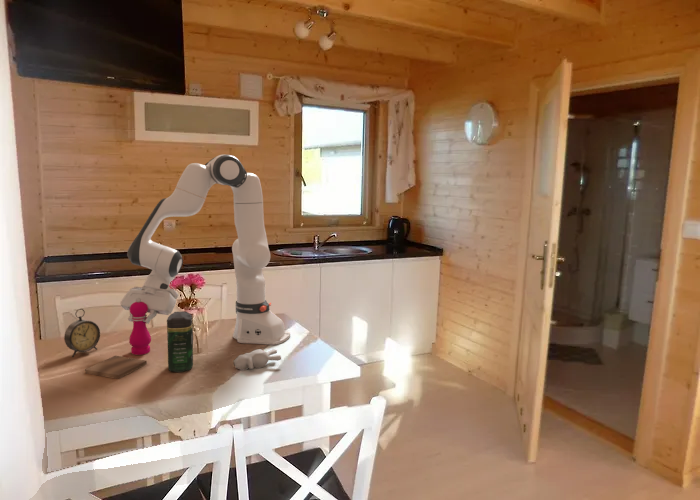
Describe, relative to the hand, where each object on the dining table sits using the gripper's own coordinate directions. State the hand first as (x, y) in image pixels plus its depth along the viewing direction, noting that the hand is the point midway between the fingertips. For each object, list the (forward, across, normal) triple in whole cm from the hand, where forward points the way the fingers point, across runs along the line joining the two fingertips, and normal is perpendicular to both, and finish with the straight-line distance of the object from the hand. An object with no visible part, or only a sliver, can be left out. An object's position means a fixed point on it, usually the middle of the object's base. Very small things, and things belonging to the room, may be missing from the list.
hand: (138, 321), depth 179 cm
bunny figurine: (+6, +45, +11) cm, 46 cm away
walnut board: (+18, +3, -2) cm, 19 cm away
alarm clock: (+13, -18, +3) cm, 23 cm away
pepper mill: (+8, 0, +9) cm, 12 cm away
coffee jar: (+13, +22, +4) cm, 26 cm away
